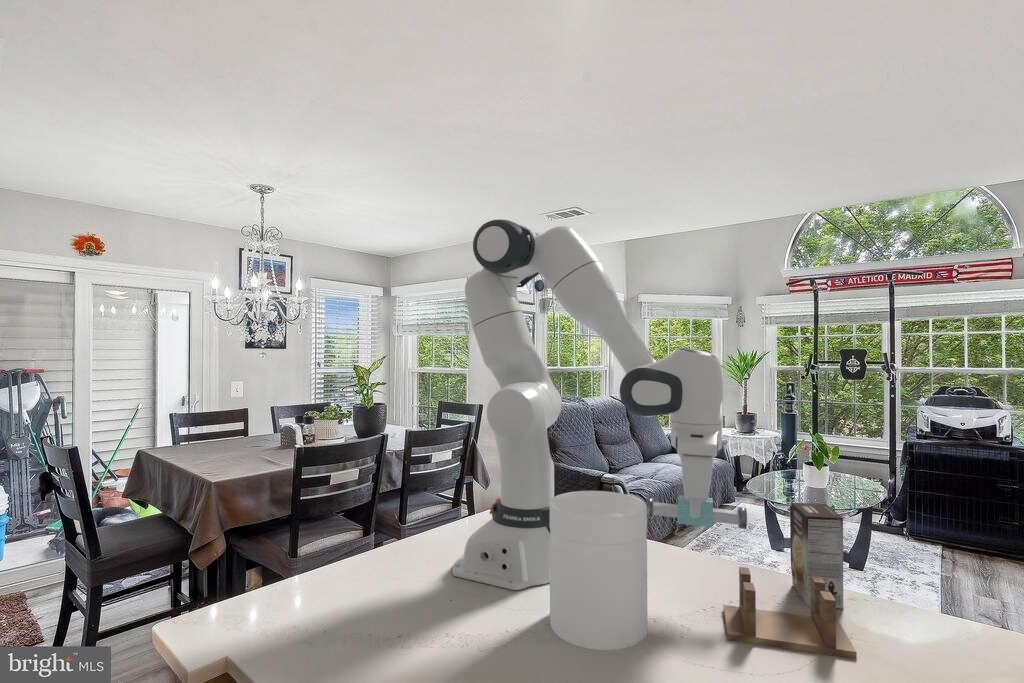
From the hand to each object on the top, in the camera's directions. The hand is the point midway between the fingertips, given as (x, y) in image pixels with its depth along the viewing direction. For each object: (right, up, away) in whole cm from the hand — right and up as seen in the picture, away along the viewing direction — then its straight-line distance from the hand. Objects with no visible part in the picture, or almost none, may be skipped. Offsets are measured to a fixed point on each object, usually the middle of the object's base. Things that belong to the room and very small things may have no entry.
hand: (694, 513), depth 99 cm
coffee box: (+23, -16, +1) cm, 28 cm away
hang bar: (0, -2, 0) cm, 2 cm away
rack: (+10, -15, -12) cm, 22 cm away
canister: (-19, -16, -9) cm, 26 cm away
